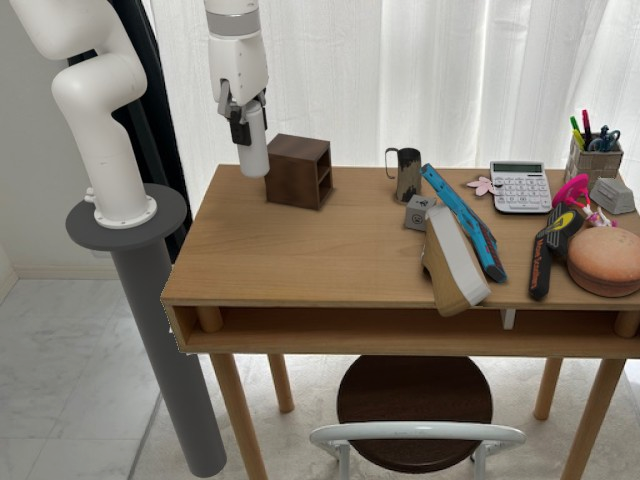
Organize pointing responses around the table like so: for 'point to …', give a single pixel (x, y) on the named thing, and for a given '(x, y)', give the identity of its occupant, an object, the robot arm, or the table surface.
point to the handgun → (468, 223)
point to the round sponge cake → (605, 261)
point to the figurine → (572, 193)
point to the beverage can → (254, 143)
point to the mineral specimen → (613, 195)
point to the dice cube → (418, 211)
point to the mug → (407, 174)
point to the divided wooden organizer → (299, 171)
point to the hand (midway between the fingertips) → (250, 135)
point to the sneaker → (451, 263)
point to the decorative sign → (552, 245)
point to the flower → (482, 186)
